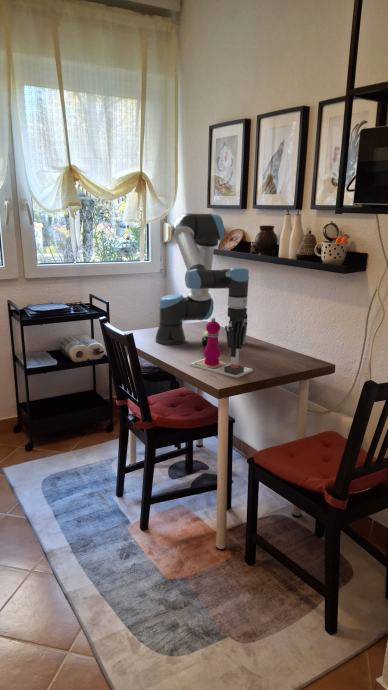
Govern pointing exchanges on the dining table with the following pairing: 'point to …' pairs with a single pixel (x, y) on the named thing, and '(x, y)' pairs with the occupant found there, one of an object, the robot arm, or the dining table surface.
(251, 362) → the dining table surface
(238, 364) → the button
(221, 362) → the picture board
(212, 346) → the pepper mill
